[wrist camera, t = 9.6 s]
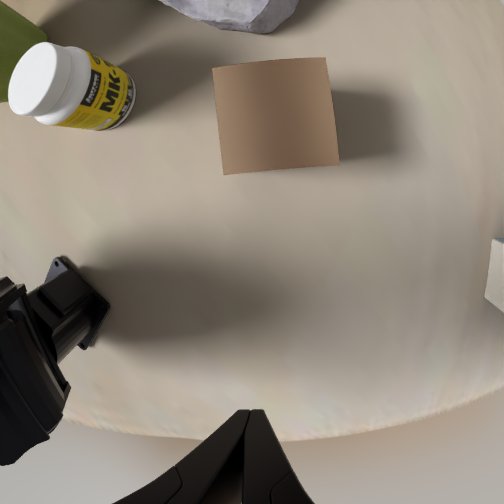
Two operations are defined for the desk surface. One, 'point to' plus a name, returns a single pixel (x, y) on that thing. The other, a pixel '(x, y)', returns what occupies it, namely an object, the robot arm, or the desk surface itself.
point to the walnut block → (275, 115)
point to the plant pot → (14, 43)
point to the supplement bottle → (70, 88)
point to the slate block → (496, 275)
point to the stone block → (237, 13)
